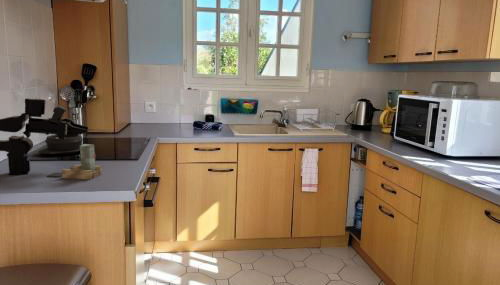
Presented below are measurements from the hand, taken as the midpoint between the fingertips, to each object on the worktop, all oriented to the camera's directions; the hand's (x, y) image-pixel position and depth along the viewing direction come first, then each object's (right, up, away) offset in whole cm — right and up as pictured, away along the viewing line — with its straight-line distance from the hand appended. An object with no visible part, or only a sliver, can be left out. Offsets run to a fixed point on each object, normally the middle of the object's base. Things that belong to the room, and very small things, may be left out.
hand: (87, 129), depth 154 cm
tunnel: (+2, -18, -9) cm, 20 cm away
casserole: (-27, -10, +36) cm, 46 cm away
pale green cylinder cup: (+4, -18, -9) cm, 20 cm away
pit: (-8, -18, -9) cm, 21 cm away
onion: (-4, -15, +10) cm, 19 cm away
